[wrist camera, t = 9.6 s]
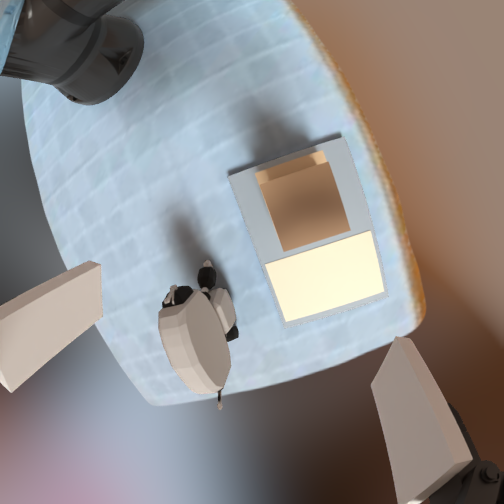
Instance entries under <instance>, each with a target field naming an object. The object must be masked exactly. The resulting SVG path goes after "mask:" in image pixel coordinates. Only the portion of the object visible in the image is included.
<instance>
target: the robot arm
mask: <svg viewBox="0 0 504 504" xmlns="http://www.w3.org/2000/svg"><path fill="white" fill-rule="evenodd" d="M123 1H124V0H0V76H7V77H13V78H19V79H25V80H31V81H36V82H41V83H46V84H50V85H53V86H54V87H55V88H56V89H57V90H59V91H60V92H61V93H62V94H63V95H64V96H66V97H67V98H68V99H69V100H71V101H72V102H75V103H78V104H82V105H95V104H99V103H101V102H103V101H105V100H107V99H109V98H110V97H112V96H113V95H114V94H115V93H117V92H118V91H119V90H120V89H121V88H122V87H123V86H124V85H125V84H126V82H127V81H128V80H129V79H130V77H131V76H132V74H133V73H134V71H135V70H136V68H137V66H138V64H139V61H140V59H141V56H142V53H143V48H144V38H143V34H142V31H141V30H140V28H139V27H138V26H137V25H135V24H134V23H133V22H132V21H130V20H128V19H126V18H122V17H116V16H111V15H105V14H106V13H107V12H108V11H110V10H111V9H112V8H114V7H115V6H117V5H118V4H120V3H121V2H123ZM102 317H103V308H102V287H101V264H98V263H95V262H92V261H87V262H85V263H83V264H81V265H79V266H77V267H74V268H72V269H70V270H68V271H66V272H64V273H62V274H60V275H58V276H56V277H54V278H53V279H50V280H48V281H47V282H45V283H42V284H40V285H38V286H36V287H34V288H33V289H31V290H29V291H27V292H25V293H23V294H21V295H19V296H17V297H15V298H13V299H11V300H9V301H7V302H6V303H4V304H2V305H0V383H1V384H2V385H3V386H5V388H7V389H8V390H9V391H10V392H11V393H12V392H13V391H14V390H15V389H16V388H17V387H19V386H20V385H21V384H22V383H23V382H24V381H25V380H27V379H28V378H29V377H30V376H31V375H32V374H33V373H35V372H36V371H37V370H38V369H39V368H40V367H42V366H43V365H44V364H45V363H46V362H48V361H49V360H50V359H51V358H52V357H53V356H55V355H56V354H57V353H58V352H59V351H61V350H62V349H63V348H64V347H66V346H67V345H68V344H69V343H70V342H72V341H73V340H74V339H75V338H77V337H78V336H79V335H80V334H81V333H83V332H84V331H85V330H86V329H88V328H89V327H90V326H91V325H93V324H94V323H95V322H97V321H98V320H99V319H100V318H102ZM371 387H372V391H373V395H374V398H375V402H376V405H377V409H378V413H379V417H380V421H381V425H382V429H383V433H384V437H385V441H386V445H387V450H388V454H389V459H390V463H391V468H392V473H393V478H394V483H395V489H396V495H397V500H398V504H420V503H421V502H423V501H424V500H425V499H427V498H428V497H429V499H430V503H429V504H504V472H500V470H499V468H498V467H497V465H496V464H494V463H493V462H491V461H487V460H485V461H481V459H480V457H479V455H478V453H477V451H476V448H475V446H474V444H473V442H472V440H471V437H470V435H469V433H468V432H466V431H467V429H466V427H465V425H464V424H463V421H462V419H461V417H460V415H459V413H458V412H457V410H456V409H455V408H454V407H453V406H452V405H451V404H450V403H447V402H446V400H445V398H444V397H443V395H442V393H441V391H440V389H439V387H438V385H437V384H436V382H435V380H434V378H433V376H432V375H431V373H430V371H429V369H428V368H427V366H426V364H425V362H424V361H423V359H422V357H421V355H420V354H419V352H418V350H417V349H416V347H415V345H414V344H413V342H412V341H411V339H409V338H403V337H397V336H396V337H395V339H394V341H393V343H392V346H391V348H390V350H389V352H388V354H387V356H386V358H385V360H384V362H383V363H382V365H381V367H380V369H379V371H378V373H377V375H376V377H375V378H374V380H373V382H372V384H371Z"/></svg>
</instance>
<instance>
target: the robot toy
mask: <svg viewBox="0 0 504 504" xmlns="http://www.w3.org/2000/svg"><path fill="white" fill-rule="evenodd" d="M203 265H204V267H203V268H201V269H199V274H198V279H197V280H198V283H199V286H200V288H201V292H200V291H199V290H198V289H192V288H191V287H189V286H180V287H177V285H173V286H171V287H170V292H169V293H168V294H167V296H166V298H165V299H164V301H163V302H162V307H163V308H162V309H161V310H160V311H159V325H158V328H159V333H160V336H161V340H162V343H163V347H164V349H165V351H166V354H167V356H168V359H169V361H170V364H171V366H172V367H173V369H174V370H175V372H176V373H177V374H178V376H179V377H180V378H181V380H182V381H183V382H184V383H185V384H186V385H187V386H188V388H189V389H190V390H192V391H193V392H195V393H197V394H208V393H217V392H218V404H217V407H218V409H219V410H221V409H222V404H221V390H222V389H223V388H224V385H225V382H226V379H227V376H228V373H229V371H230V368H231V360H230V352H229V348H228V344H227V342H229V341H232V340H234V339H236V338H238V335H239V333H238V329H237V327H236V326H233V324H234V322H235V320H236V314H235V309H234V306H233V303H232V300H231V298H230V296H229V294H228V291H227V290H226V289H222V288H217V289H213V290H210V289H211V288H212V287H213V286H214V285H215V280H216V272H215V270H214V267H213V265H212V264H211V262H210V260H206V261H205V262H204V264H203Z"/></svg>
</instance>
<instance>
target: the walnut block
mask: <svg viewBox="0 0 504 504" xmlns="http://www.w3.org/2000/svg"><path fill="white" fill-rule="evenodd" d="M260 188H261V190H262V193H263V196H264V199H265V201H266V204H267V207H268V209H269V212H270V215H271V218H272V221H273V223H274V226H275V229H276V232H277V234H278V237H279V240H280V243H281V246H282V249H283V252H286V251H289V250H292V249H295V248H298V247H301V246H305V245H308V244H311V243H314V242H317V241H320V240H323V239H326V238H329V237H332V236H335V235H338V234H342V233H345V232H348V231H351V229H350V226H349V223H348V219H347V216H346V212H345V209H344V206H343V203H342V200H341V196H340V193H339V190H338V187H337V184H336V181H335V178H334V175H333V173H332V170H331V167H330V164H329V161H328V162H325V163H322V164H319V165H316V166H313V167H309V168H306V169H303V170H300V171H297V172H294V173H291V174H289V175H286V176H283V177H280V178H277V179H274V180H271V181H268V182H266V183H263V184H260Z"/></svg>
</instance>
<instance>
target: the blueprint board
mask: <svg viewBox="0 0 504 504" xmlns="http://www.w3.org/2000/svg"><path fill="white" fill-rule="evenodd" d="M328 161H329V164H330V167H331V170H332V173H333V175H334V178H335V181H336V184H337V187H338V190H339V193H340V196H341V200H342V203H343V206H344V209H345V212H346V216H347V219H348V223H349V226H350V229H351V231H348V232H345V233H342V234H338V235H335V236H332V237H329V238H326V239H323V240H320V241H317V242H314V243H311V244H308V245H305V246H301V247H298V248H295V249H292V250H289V251H286V252H283V249H282V246H281V243H280V240H279V237H278V234H277V232H276V229H275V226H274V223H273V221H272V218H271V215H270V212H269V209H268V207H267V204H266V201H265V199H264V196H263V193H262V190H261V188H260V184H263V183H266V182H268V181H271V180H274V179H277V178H280V177H283V176H286V175H289V174H291V173H294V172H297V171H300V170H303V169H306V168H309V167H313V166H316V165H319V164H322V163H325V162H328ZM228 179H229V182H230V184H231V187H232V190H233V192H234V195H235V198H236V200H237V203H238V206H239V208H240V211H241V214H242V216H243V219H244V222H245V224H246V227H247V230H248V232H249V235H250V238H251V240H252V243H253V246H254V248H255V251H256V253H257V256H258V259H259V261H260V264H261V267H262V269H263V272H264V275H265V278H266V280H267V283H268V286H269V288H270V291H271V294H272V296H273V299H274V302H275V304H276V307H277V310H278V312H279V315H280V318H281V320H282V323H283V326H284V328H285V329H286V328H290V327H293V326H297V325H301V324H304V323H308V322H311V321H315V320H318V319H322V318H325V317H329V316H332V315H335V314H338V313H342V312H345V311H348V310H351V309H354V308H357V307H360V306H363V305H366V304H369V303H372V302H375V301H378V300H381V299H384V298H386V297H389V295H388V289H387V284H386V279H385V274H384V269H383V264H382V260H381V255H380V251H379V247H378V242H377V238H376V234H375V230H374V226H373V223H372V219H371V215H370V212H369V208H368V205H367V201H366V198H365V195H364V191H363V188H362V185H361V182H360V179H359V176H358V173H357V170H356V167H355V164H354V161H353V158H352V155H351V152H350V150H349V147H348V144H347V142H346V139H345V137H341V138H338V139H335V140H331V141H328V142H325V143H321V144H318V145H315V146H312V147H309V148H306V149H303V150H300V151H297V152H294V153H291V154H288V155H285V156H282V157H279V158H276V159H273V160H271V161H268V162H265V163H262V164H260V165H257V166H254V167H252V168H249V169H246V170H244V171H241V172H238V173H236V174H233V175H231V176H228Z"/></svg>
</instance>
